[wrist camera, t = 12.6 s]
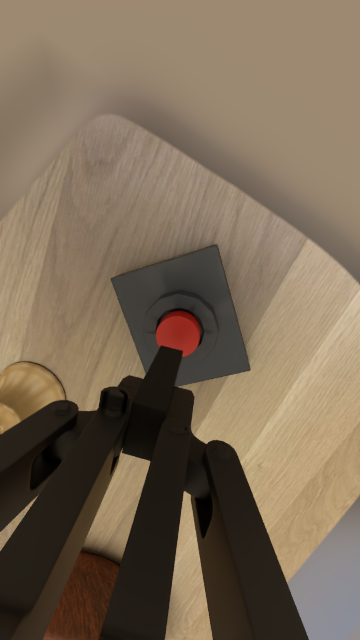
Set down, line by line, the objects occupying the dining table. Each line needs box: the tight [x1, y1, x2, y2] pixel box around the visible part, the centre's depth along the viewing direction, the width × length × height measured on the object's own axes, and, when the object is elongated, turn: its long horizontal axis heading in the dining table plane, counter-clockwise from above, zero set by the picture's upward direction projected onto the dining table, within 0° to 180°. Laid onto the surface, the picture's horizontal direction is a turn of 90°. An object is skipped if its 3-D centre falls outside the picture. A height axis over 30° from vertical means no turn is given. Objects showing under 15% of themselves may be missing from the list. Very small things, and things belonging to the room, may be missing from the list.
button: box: [156, 311, 201, 357], centre depth 24 cm, size 4×4×2 cm
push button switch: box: [111, 244, 251, 387], centre depth 26 cm, size 12×10×4 cm
